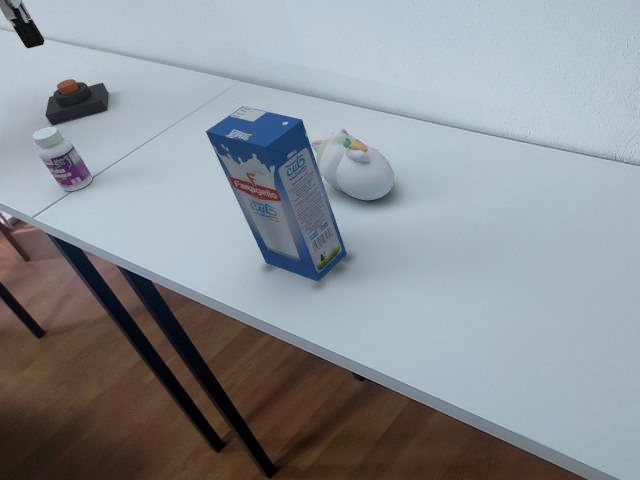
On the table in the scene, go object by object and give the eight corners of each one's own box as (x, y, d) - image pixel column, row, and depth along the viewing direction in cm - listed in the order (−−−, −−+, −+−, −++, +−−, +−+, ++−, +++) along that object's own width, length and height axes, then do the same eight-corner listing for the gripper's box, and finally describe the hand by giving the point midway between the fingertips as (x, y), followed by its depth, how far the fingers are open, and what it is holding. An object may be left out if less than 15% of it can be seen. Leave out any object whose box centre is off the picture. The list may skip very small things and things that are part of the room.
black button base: (51, 125, 128) (39, 106, 125) (55, 106, 134) (43, 88, 131) (107, 110, 129) (96, 91, 126) (108, 92, 135) (98, 73, 132)
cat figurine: (387, 144, 88) (312, 108, 94) (357, 193, 88) (285, 155, 94) (416, 175, 97) (346, 141, 103) (389, 220, 97) (320, 183, 103)
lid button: (61, 97, 127) (55, 89, 126) (62, 90, 130) (57, 82, 128) (79, 92, 128) (74, 84, 127) (80, 85, 130) (75, 77, 129)
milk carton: (265, 262, 89) (204, 131, 74) (294, 236, 92) (242, 105, 78) (318, 281, 85) (265, 146, 70) (347, 254, 88) (302, 119, 73)
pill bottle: (58, 195, 109) (22, 144, 102) (66, 178, 112) (32, 127, 105) (89, 188, 109) (56, 137, 102) (97, 172, 112) (65, 121, 105)
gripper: (-49, -75, 109) (19, 36, 122) (-67, -53, 99) (9, 65, 112) (-3, -85, 110) (60, 26, 123) (-16, -64, 100) (53, 54, 113)
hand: (35, 44), depth 118 cm, fingers closed
